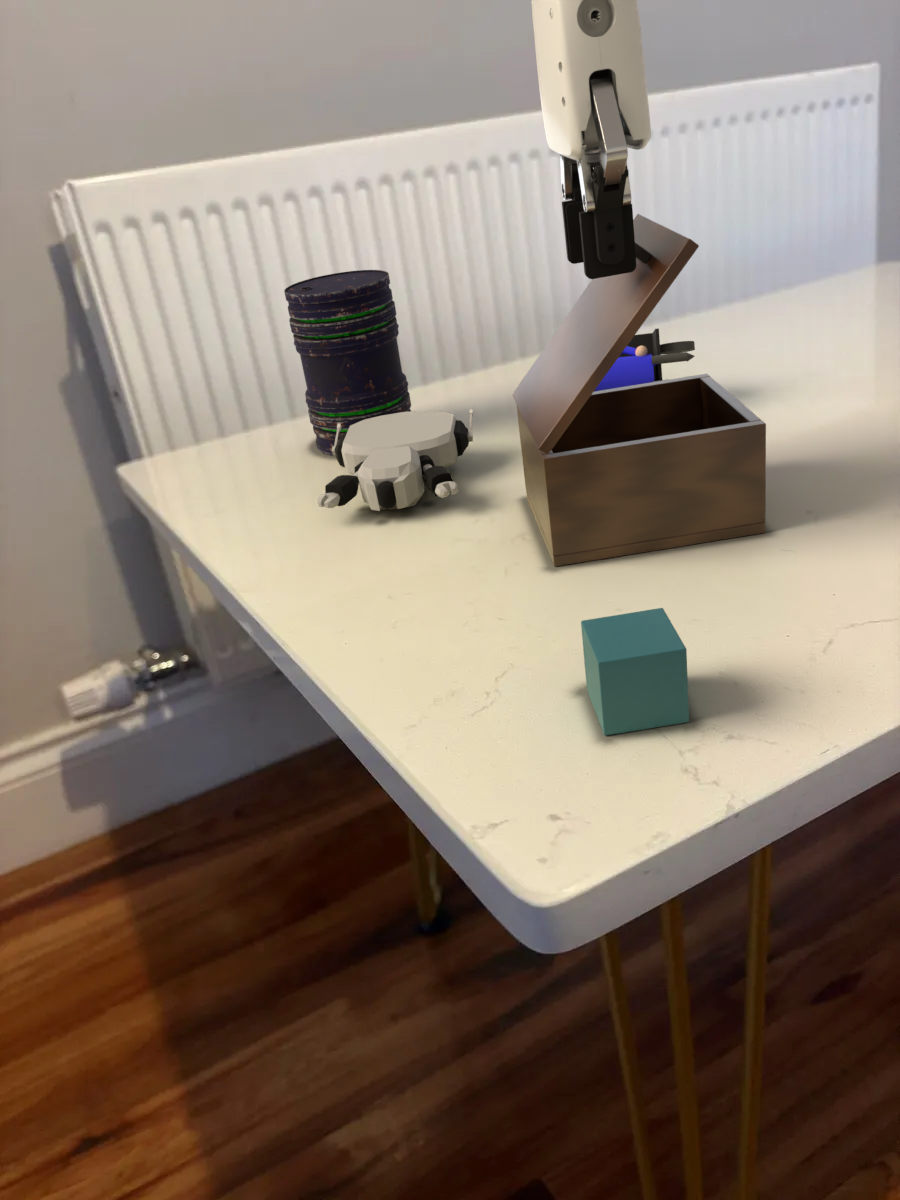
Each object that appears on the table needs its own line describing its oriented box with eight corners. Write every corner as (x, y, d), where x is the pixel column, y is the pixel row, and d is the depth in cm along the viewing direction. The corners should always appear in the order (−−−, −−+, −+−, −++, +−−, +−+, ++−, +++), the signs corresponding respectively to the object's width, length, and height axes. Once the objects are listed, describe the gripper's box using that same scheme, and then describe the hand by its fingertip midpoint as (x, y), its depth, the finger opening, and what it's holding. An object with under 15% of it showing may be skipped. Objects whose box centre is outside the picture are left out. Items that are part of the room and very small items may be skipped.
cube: (666, 677, 56) (662, 607, 54) (689, 722, 52) (686, 648, 50) (586, 690, 56) (580, 620, 54) (604, 736, 52) (597, 662, 50)
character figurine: (705, 421, 92) (539, 438, 94) (697, 391, 98) (541, 407, 100) (703, 336, 88) (529, 356, 90) (695, 310, 94) (532, 329, 96)
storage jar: (400, 414, 105) (376, 264, 98) (428, 440, 97) (403, 278, 90) (306, 436, 103) (274, 285, 96) (326, 464, 95) (292, 301, 88)
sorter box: (709, 469, 81) (706, 373, 77) (765, 532, 70) (766, 423, 66) (526, 499, 81) (516, 403, 77) (554, 567, 70) (543, 459, 66)
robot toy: (468, 525, 80) (479, 446, 92) (460, 473, 77) (472, 399, 90) (316, 539, 82) (347, 459, 94) (303, 488, 79) (337, 413, 92)
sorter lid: (646, 219, 72) (592, 179, 71) (699, 245, 61) (637, 198, 59) (519, 400, 77) (467, 366, 76) (547, 455, 66) (486, 417, 65)
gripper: (679, -91, 51) (695, 280, 60) (605, -53, 66) (626, 238, 75) (531, -65, 51) (568, 302, 60) (490, -33, 66) (525, 256, 75)
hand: (600, 264), depth 67 cm, fingers closed on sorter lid, 5 cm apart
